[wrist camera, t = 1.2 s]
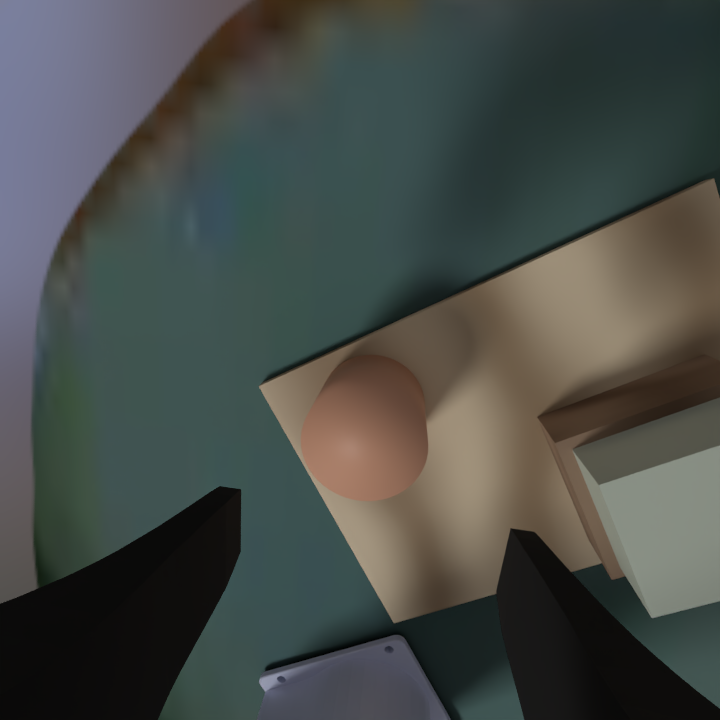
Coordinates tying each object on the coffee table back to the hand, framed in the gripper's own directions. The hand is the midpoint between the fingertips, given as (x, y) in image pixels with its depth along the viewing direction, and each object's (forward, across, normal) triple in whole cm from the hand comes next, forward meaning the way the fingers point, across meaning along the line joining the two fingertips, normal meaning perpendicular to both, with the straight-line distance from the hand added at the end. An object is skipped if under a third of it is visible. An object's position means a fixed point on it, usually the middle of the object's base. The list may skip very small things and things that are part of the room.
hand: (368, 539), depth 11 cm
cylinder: (+9, +1, 0) cm, 9 cm away
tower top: (+6, -12, +1) cm, 13 cm away
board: (+9, -6, +1) cm, 11 cm away
